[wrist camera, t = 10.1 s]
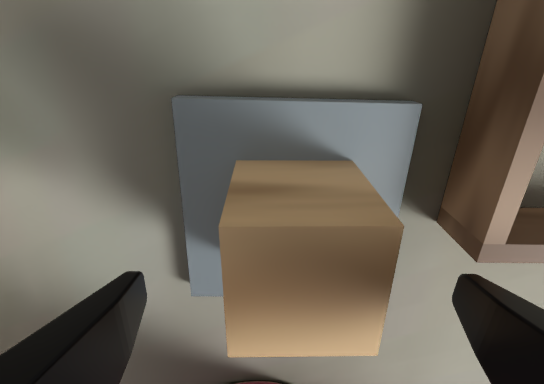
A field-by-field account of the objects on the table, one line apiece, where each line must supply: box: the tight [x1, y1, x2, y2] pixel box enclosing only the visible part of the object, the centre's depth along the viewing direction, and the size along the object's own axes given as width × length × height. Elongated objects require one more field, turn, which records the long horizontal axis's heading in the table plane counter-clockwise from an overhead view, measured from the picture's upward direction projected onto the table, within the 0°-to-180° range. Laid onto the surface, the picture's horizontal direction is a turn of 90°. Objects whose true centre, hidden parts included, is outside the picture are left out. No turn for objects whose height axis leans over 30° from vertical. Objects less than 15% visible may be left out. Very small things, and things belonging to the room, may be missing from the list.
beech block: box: [219, 160, 404, 357], centre depth 11 cm, size 4×4×5 cm
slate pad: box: [171, 95, 423, 296], centre depth 13 cm, size 9×9×1 cm
